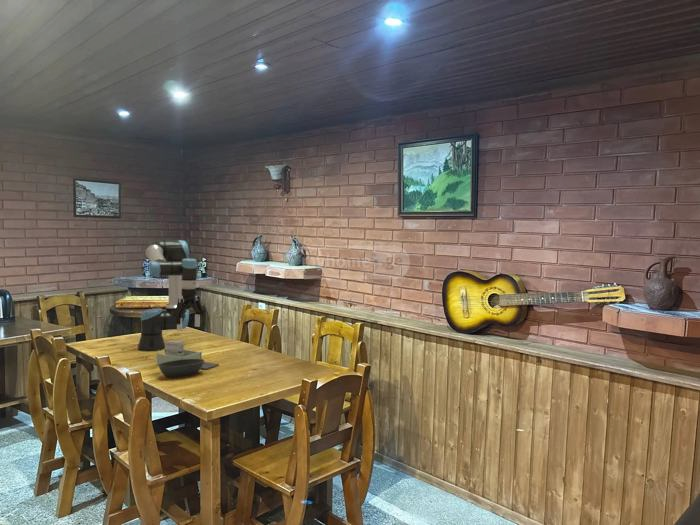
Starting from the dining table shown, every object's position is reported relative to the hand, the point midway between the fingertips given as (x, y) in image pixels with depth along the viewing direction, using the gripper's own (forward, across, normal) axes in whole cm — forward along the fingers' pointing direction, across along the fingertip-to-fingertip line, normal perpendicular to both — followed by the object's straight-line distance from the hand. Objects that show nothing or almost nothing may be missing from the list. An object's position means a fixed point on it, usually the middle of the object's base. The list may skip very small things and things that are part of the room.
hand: (188, 328), depth 261 cm
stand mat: (+19, +1, -10) cm, 22 cm away
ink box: (+19, -1, +8) cm, 21 cm away
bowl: (+20, -17, -10) cm, 28 cm away
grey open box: (+19, -2, +5) cm, 20 cm away
